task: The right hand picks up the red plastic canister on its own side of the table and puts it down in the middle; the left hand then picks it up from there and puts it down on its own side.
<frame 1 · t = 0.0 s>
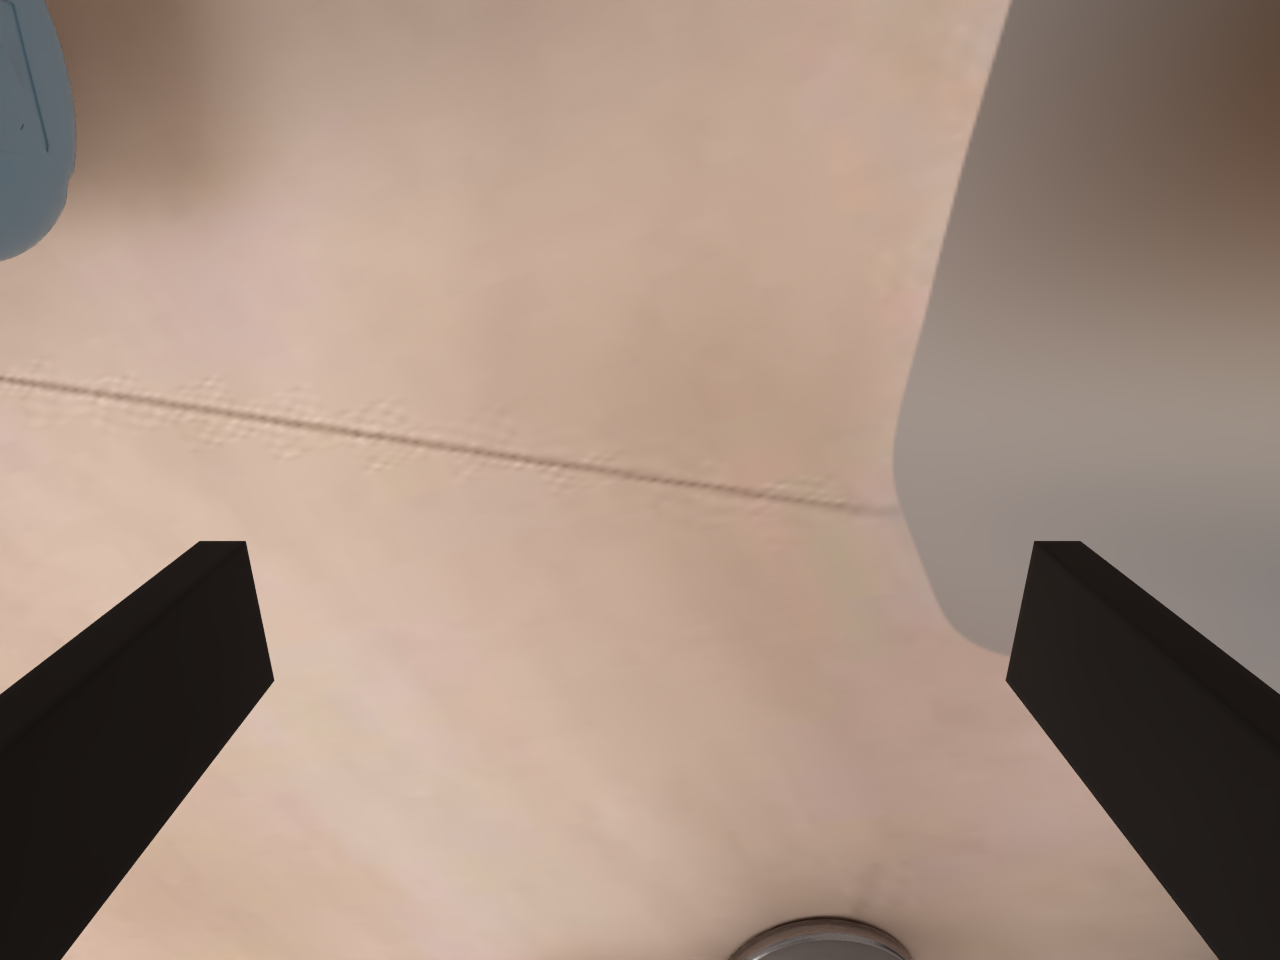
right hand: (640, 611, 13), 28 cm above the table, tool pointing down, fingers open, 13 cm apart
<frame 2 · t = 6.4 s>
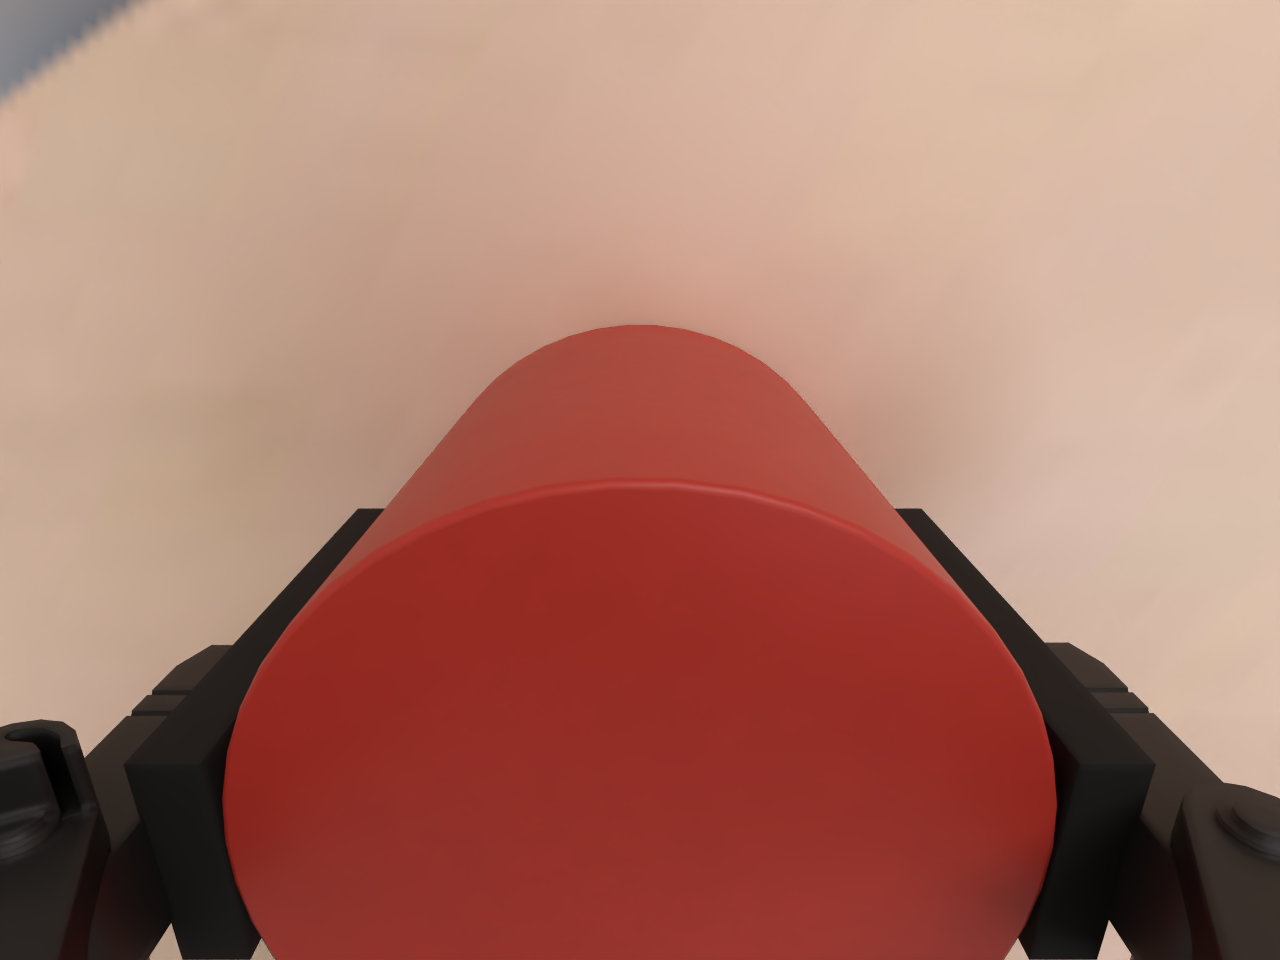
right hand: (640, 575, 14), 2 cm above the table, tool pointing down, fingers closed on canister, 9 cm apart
canister: (639, 529, 16), on the table, touching right hand
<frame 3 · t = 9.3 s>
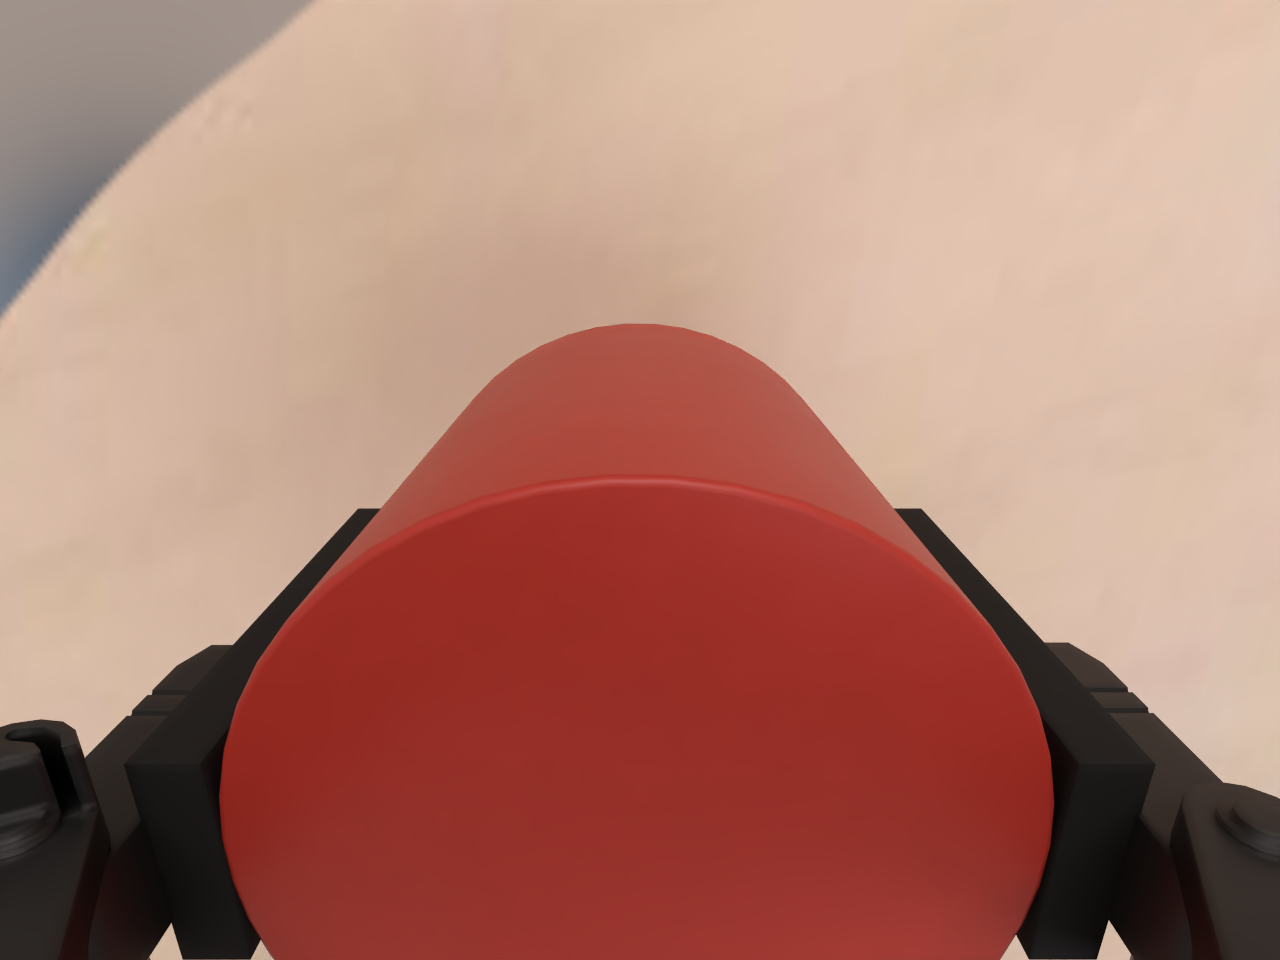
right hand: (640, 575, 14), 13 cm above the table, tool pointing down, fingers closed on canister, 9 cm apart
canister: (638, 528, 16), point 11 cm above the table, touching right hand
when the right hand's fingers open (4 cm above the table, at t = 12.2 s): canister drops 2 cm, on the table.
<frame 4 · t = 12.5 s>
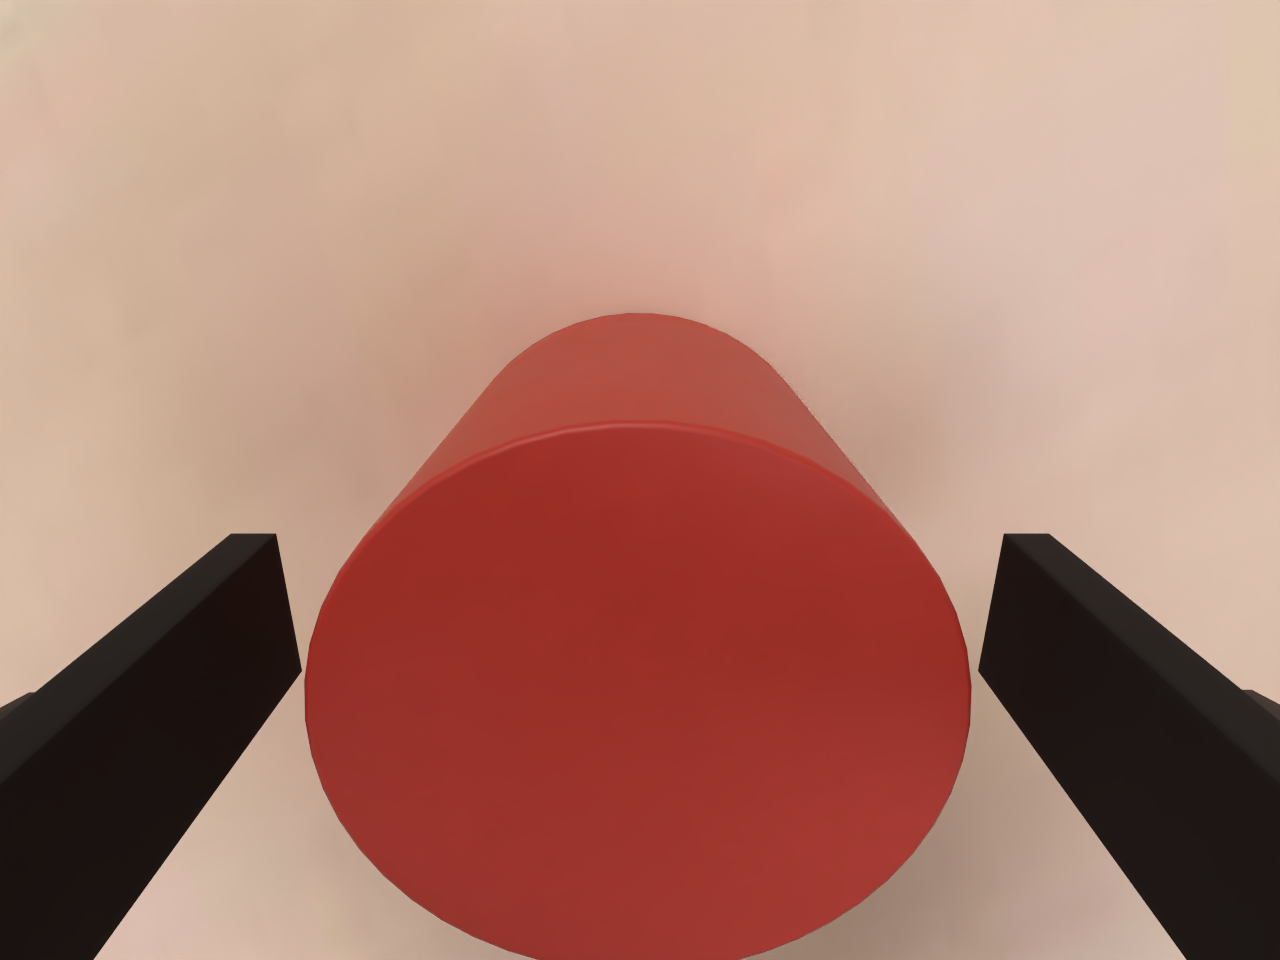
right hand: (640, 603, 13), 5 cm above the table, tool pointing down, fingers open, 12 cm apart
canister: (638, 496, 18), on the table
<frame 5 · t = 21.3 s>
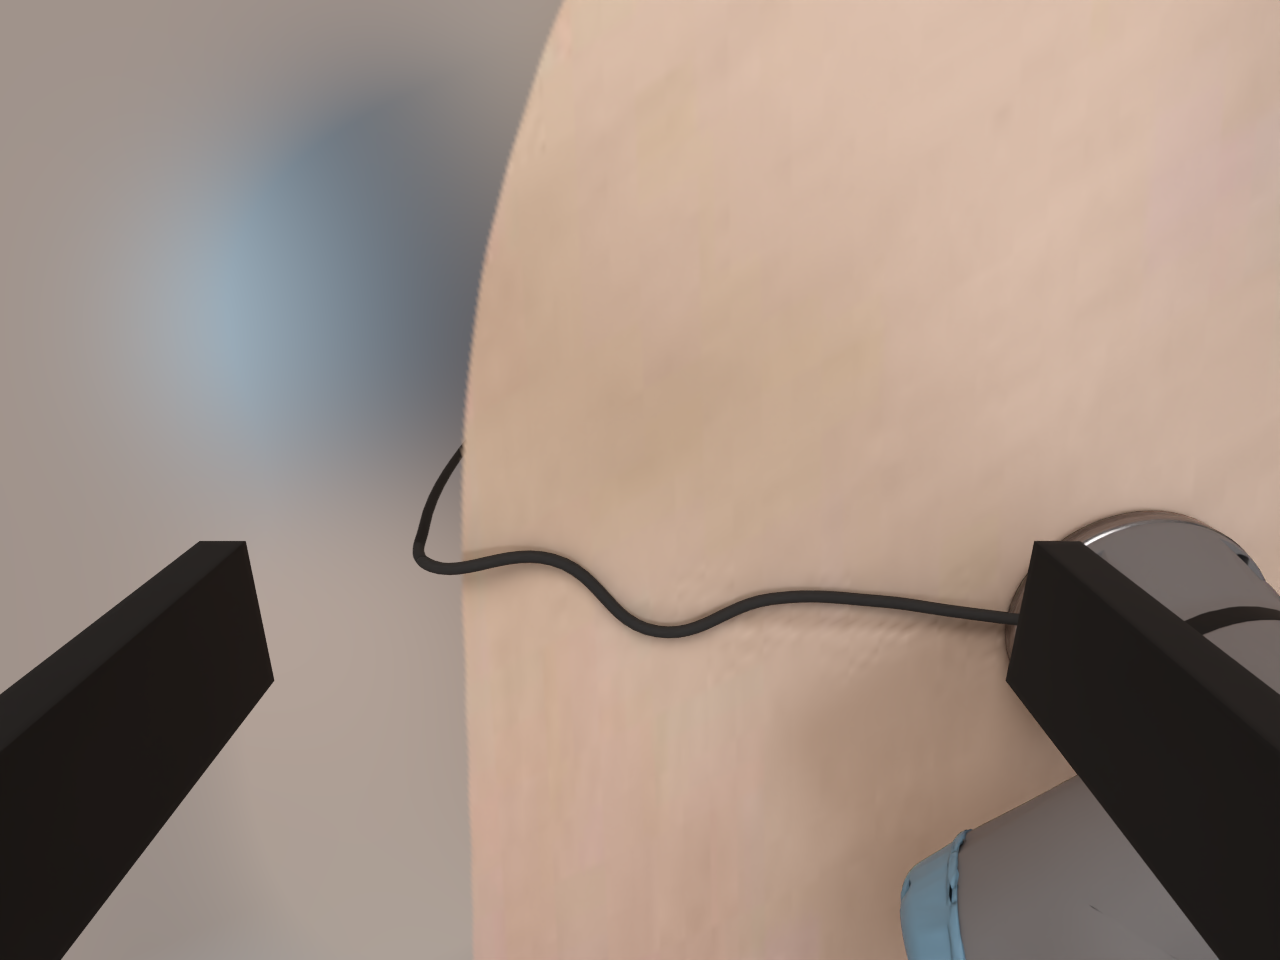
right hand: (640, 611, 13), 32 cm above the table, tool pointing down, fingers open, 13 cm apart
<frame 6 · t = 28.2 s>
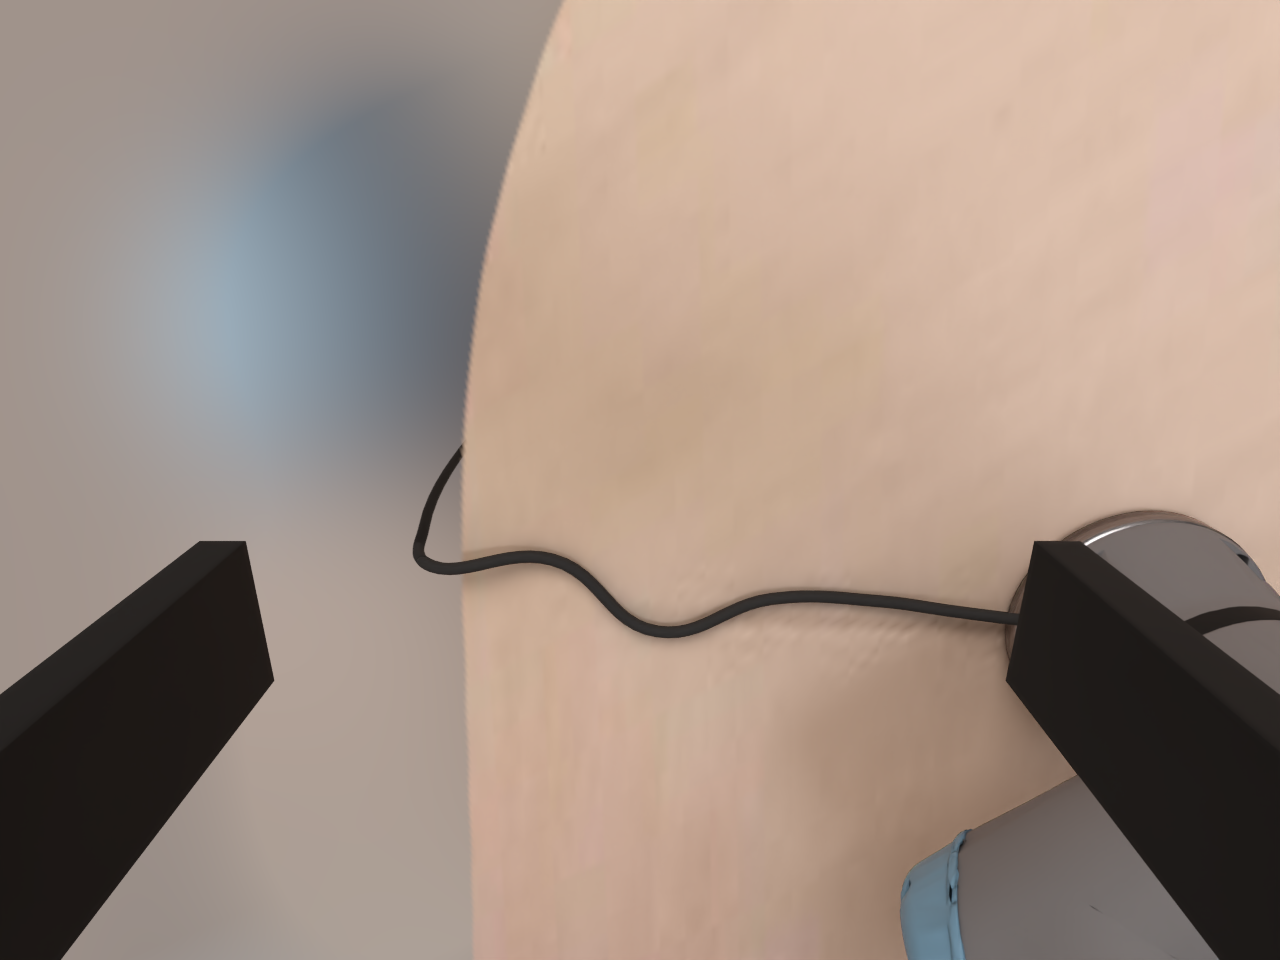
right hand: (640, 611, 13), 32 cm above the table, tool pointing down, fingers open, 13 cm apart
when the left hand's fingers open (4 cm above the table, at t = 35.1 s): canister drops 2 cm, on the table.
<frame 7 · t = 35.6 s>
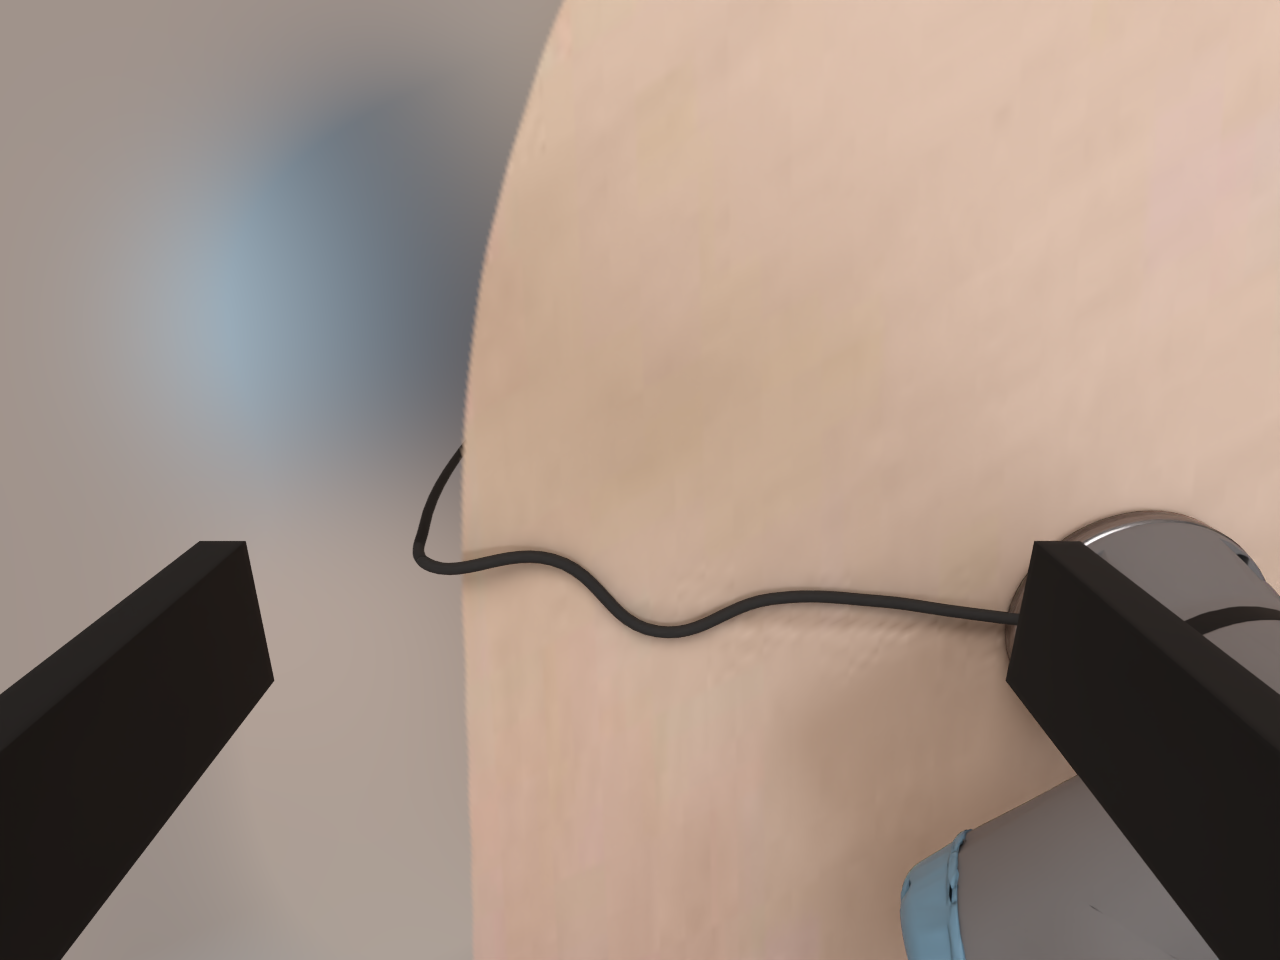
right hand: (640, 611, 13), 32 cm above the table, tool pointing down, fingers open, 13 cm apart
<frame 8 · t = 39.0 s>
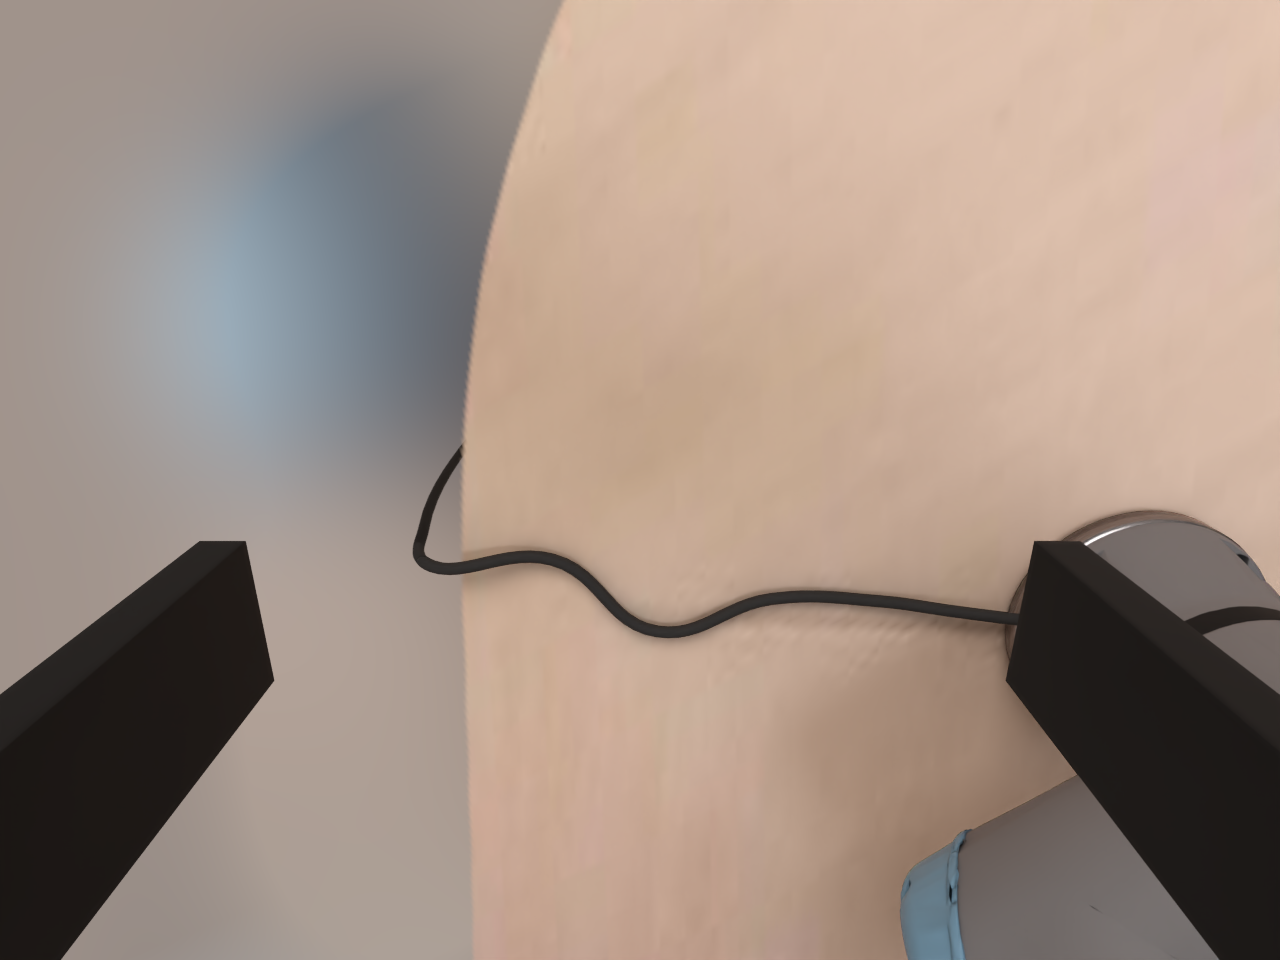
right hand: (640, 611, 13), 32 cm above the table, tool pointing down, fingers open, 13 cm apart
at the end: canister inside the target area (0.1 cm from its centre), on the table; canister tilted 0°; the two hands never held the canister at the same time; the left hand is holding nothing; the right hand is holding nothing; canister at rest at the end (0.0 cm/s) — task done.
